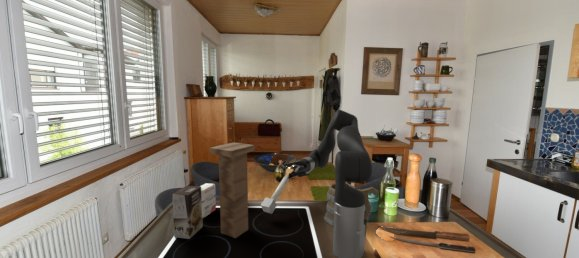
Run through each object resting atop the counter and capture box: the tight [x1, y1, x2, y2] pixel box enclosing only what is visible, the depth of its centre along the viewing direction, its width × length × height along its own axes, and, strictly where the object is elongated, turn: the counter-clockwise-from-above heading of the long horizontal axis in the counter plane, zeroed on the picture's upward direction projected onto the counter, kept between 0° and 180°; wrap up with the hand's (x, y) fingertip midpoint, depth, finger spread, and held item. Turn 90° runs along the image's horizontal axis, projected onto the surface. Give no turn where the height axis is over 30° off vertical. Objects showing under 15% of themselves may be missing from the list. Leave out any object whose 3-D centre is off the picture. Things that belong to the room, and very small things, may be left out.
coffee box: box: [171, 185, 204, 240], centre depth 97 cm, size 9×6×16 cm
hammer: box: [260, 168, 294, 215], centre depth 112 cm, size 22×4×4 cm
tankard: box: [323, 182, 379, 227], centre depth 105 cm, size 20×13×15 cm, turn 73°
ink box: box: [199, 182, 217, 219], centre depth 112 cm, size 8×5×12 cm, turn 160°
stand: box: [209, 142, 256, 239], centre depth 96 cm, size 10×12×32 cm
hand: (285, 175), depth 115 cm, fingers closed on hammer, 3 cm apart
